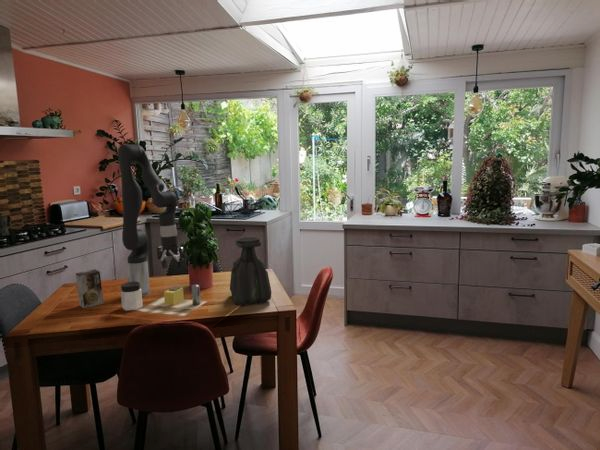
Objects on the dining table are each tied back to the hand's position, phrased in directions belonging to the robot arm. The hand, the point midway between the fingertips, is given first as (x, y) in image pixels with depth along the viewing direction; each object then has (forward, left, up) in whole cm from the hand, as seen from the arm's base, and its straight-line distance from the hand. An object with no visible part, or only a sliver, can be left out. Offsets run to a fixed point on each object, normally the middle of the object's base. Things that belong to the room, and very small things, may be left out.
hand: (172, 268), depth 201 cm
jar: (-15, -12, -17) cm, 26 cm away
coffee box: (-39, -12, -17) cm, 44 cm away
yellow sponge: (0, -1, -16) cm, 16 cm away
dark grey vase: (+33, +13, -17) cm, 40 cm away
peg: (+12, -1, -16) cm, 20 cm away
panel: (+3, -6, -17) cm, 18 cm away
